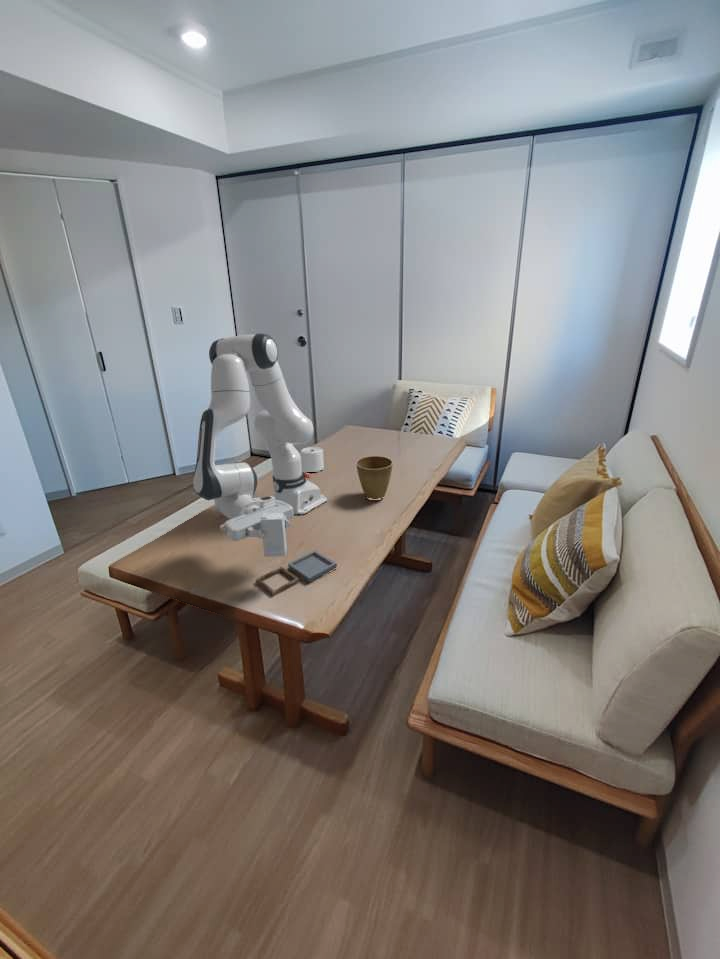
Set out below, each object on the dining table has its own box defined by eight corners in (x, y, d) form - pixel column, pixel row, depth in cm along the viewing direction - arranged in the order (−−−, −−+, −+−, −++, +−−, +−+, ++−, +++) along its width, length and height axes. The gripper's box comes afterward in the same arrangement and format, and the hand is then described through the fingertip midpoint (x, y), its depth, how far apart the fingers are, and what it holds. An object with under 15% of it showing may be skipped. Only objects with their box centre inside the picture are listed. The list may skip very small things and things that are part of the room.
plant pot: (364, 488, 187) (363, 454, 181) (396, 493, 182) (397, 458, 176) (351, 502, 174) (350, 466, 168) (385, 507, 169) (386, 470, 163)
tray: (315, 555, 138) (314, 550, 137) (336, 568, 131) (336, 563, 130) (288, 569, 131) (288, 563, 130) (309, 583, 124) (309, 578, 123)
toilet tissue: (327, 466, 213) (326, 447, 209) (319, 475, 202) (317, 455, 198) (307, 464, 215) (305, 446, 211) (298, 473, 204) (296, 453, 200)
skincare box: (287, 549, 124) (285, 511, 119) (285, 557, 120) (283, 519, 115) (265, 549, 123) (263, 512, 119) (263, 557, 119) (260, 519, 115)
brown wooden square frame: (281, 569, 131) (281, 566, 130) (299, 582, 125) (299, 578, 124) (256, 582, 125) (255, 579, 125) (273, 596, 119) (273, 592, 119)
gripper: (215, 516, 119) (240, 533, 110) (276, 494, 132) (303, 508, 123) (218, 535, 122) (243, 554, 113) (278, 512, 135) (305, 527, 126)
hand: (275, 530), depth 118 cm, fingers closed on skincare box, 7 cm apart
